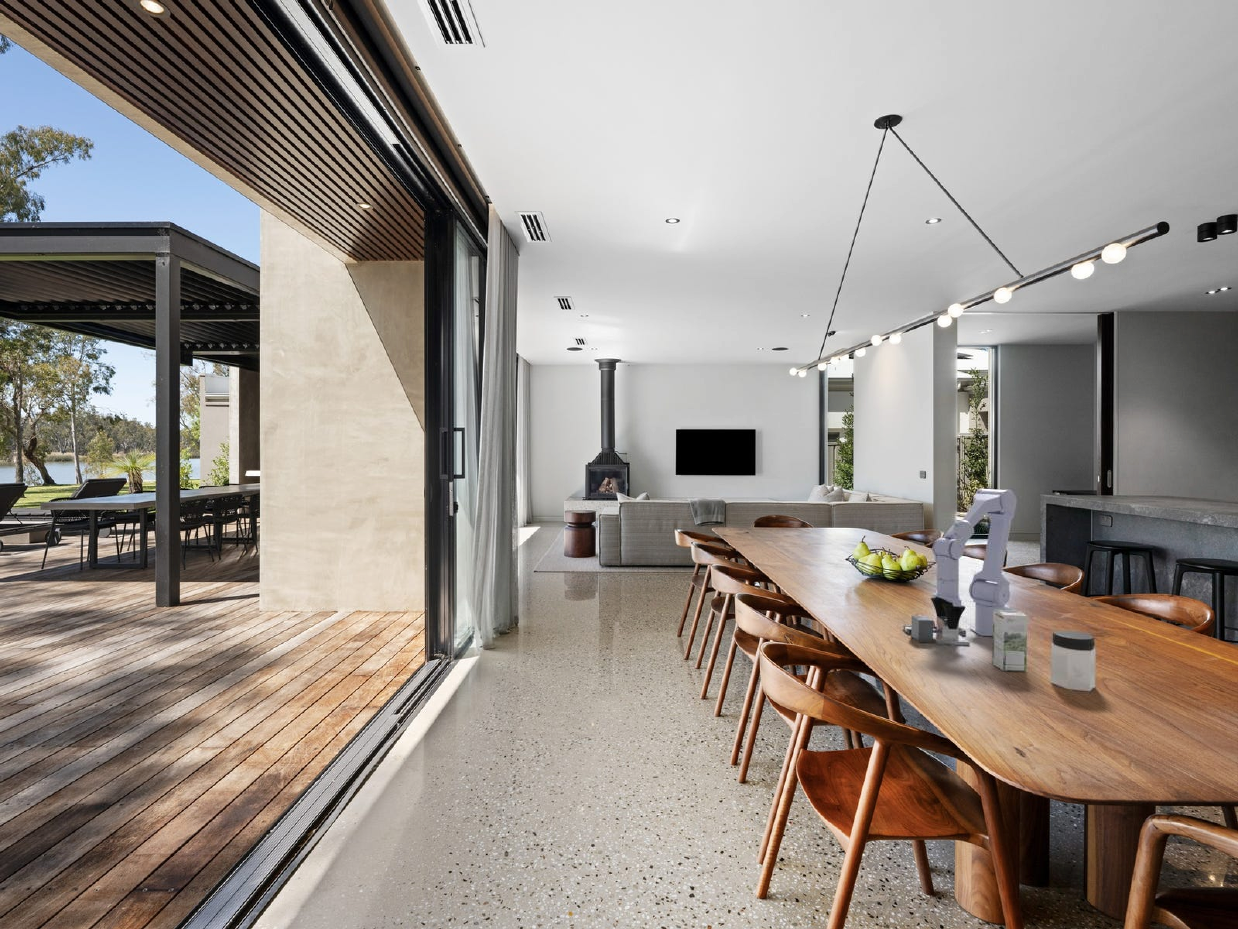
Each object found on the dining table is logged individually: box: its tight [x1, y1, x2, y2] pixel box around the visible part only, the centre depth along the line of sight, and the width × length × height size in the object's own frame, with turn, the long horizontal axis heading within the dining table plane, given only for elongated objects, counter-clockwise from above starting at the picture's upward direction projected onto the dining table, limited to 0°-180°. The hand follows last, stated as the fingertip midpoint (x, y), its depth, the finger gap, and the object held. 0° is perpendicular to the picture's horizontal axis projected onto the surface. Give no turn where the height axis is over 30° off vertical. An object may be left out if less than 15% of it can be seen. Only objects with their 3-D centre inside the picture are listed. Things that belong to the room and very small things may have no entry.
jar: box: [1050, 629, 1096, 692], centre depth 152 cm, size 9×8×12 cm
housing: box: [936, 615, 960, 640], centre depth 189 cm, size 4×4×6 cm
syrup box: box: [991, 609, 1029, 673], centre depth 164 cm, size 6×6×14 cm
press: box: [902, 614, 971, 646], centre depth 192 cm, size 17×15×6 cm
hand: (947, 625), depth 189 cm, fingers open, 7 cm apart
